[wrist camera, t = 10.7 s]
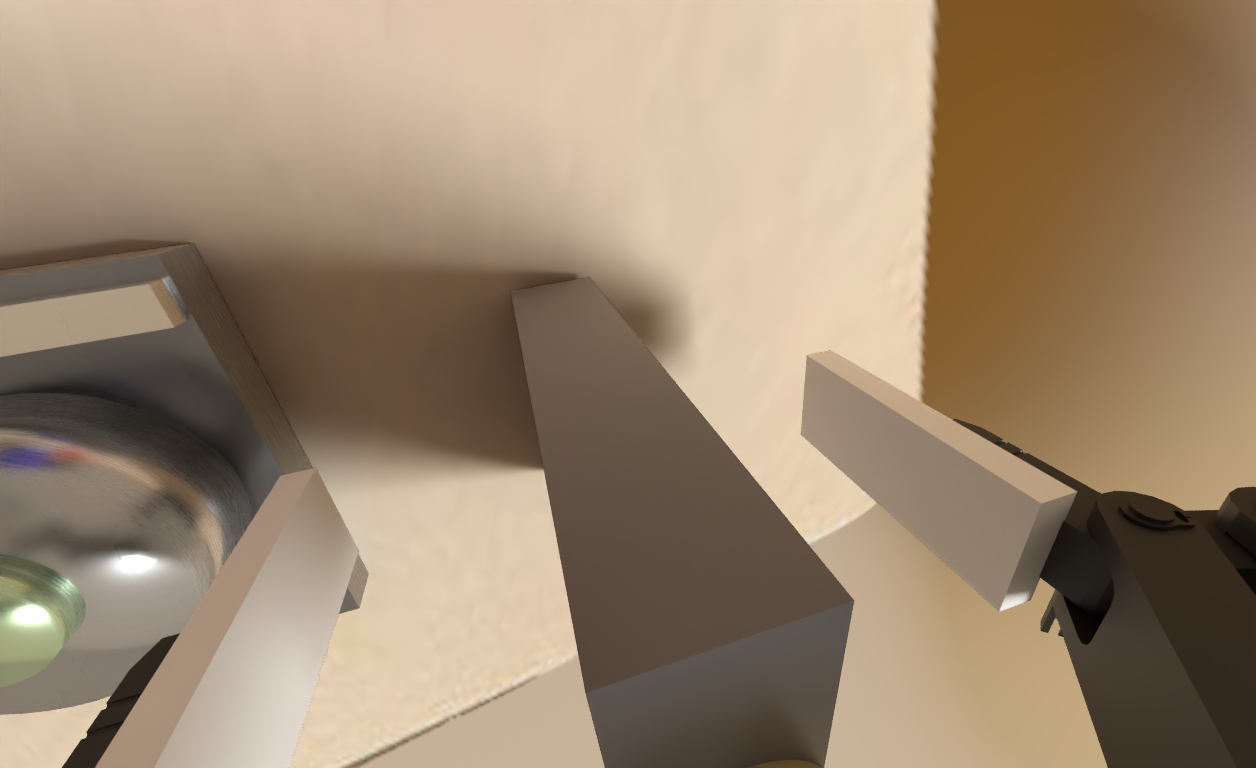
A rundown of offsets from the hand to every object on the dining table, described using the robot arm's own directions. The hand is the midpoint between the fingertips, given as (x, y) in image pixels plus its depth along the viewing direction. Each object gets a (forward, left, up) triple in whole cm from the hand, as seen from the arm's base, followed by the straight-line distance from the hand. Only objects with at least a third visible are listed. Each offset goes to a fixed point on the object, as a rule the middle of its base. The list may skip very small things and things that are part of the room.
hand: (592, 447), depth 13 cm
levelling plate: (0, -13, -4) cm, 14 cm away
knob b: (0, 0, -4) cm, 4 cm away
